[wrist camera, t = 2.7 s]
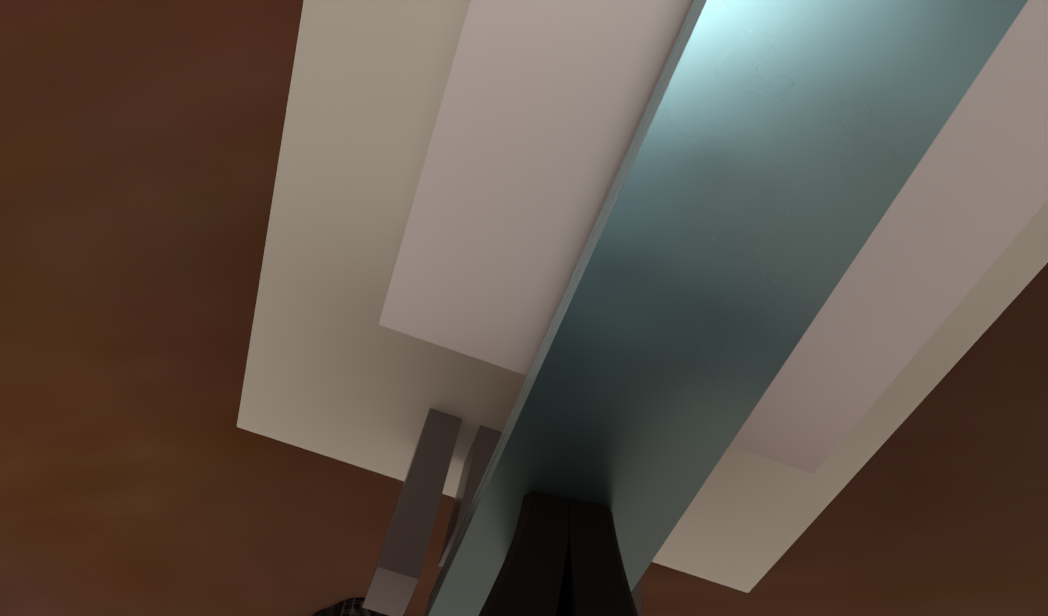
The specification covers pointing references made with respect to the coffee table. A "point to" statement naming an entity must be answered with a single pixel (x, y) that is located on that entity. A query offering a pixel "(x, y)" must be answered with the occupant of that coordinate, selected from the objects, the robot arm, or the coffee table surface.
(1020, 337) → the coffee table surface
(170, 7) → the coffee table surface
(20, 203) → the coffee table surface
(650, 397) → the retention strap
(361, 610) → the phone
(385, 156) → the socket board
